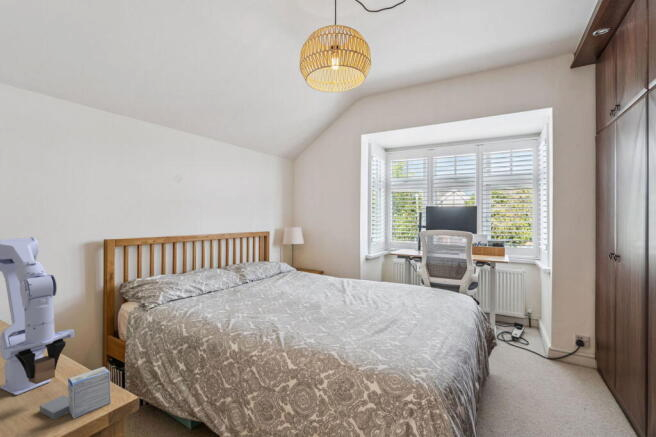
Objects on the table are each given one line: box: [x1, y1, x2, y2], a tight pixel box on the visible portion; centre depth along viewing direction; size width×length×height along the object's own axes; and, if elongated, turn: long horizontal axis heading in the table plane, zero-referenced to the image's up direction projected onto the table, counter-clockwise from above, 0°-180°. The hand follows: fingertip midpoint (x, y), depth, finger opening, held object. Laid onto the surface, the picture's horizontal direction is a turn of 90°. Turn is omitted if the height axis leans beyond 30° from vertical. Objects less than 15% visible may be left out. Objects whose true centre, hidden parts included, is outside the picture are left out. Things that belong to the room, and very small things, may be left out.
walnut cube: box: [28, 355, 56, 384], centre depth 83 cm, size 4×4×5 cm
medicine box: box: [67, 366, 112, 419], centre depth 81 cm, size 8×4×9 cm, turn 141°
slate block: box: [39, 395, 70, 420], centre depth 80 cm, size 7×5×2 cm
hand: (41, 373), depth 83 cm, fingers closed on walnut cube, 4 cm apart
